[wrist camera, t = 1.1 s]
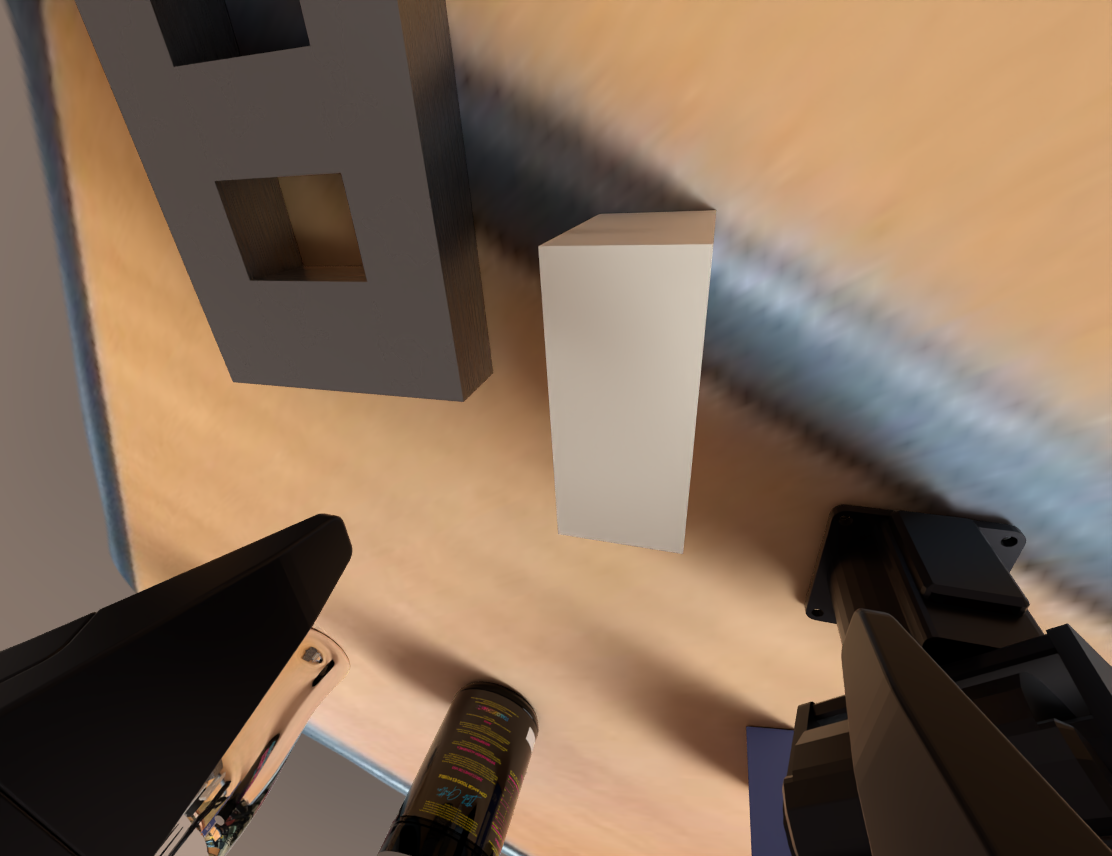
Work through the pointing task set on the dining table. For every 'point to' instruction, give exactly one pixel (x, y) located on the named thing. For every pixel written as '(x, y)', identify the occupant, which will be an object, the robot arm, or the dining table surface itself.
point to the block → (626, 371)
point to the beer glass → (258, 752)
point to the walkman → (767, 788)
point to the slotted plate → (309, 149)
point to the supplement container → (468, 777)
